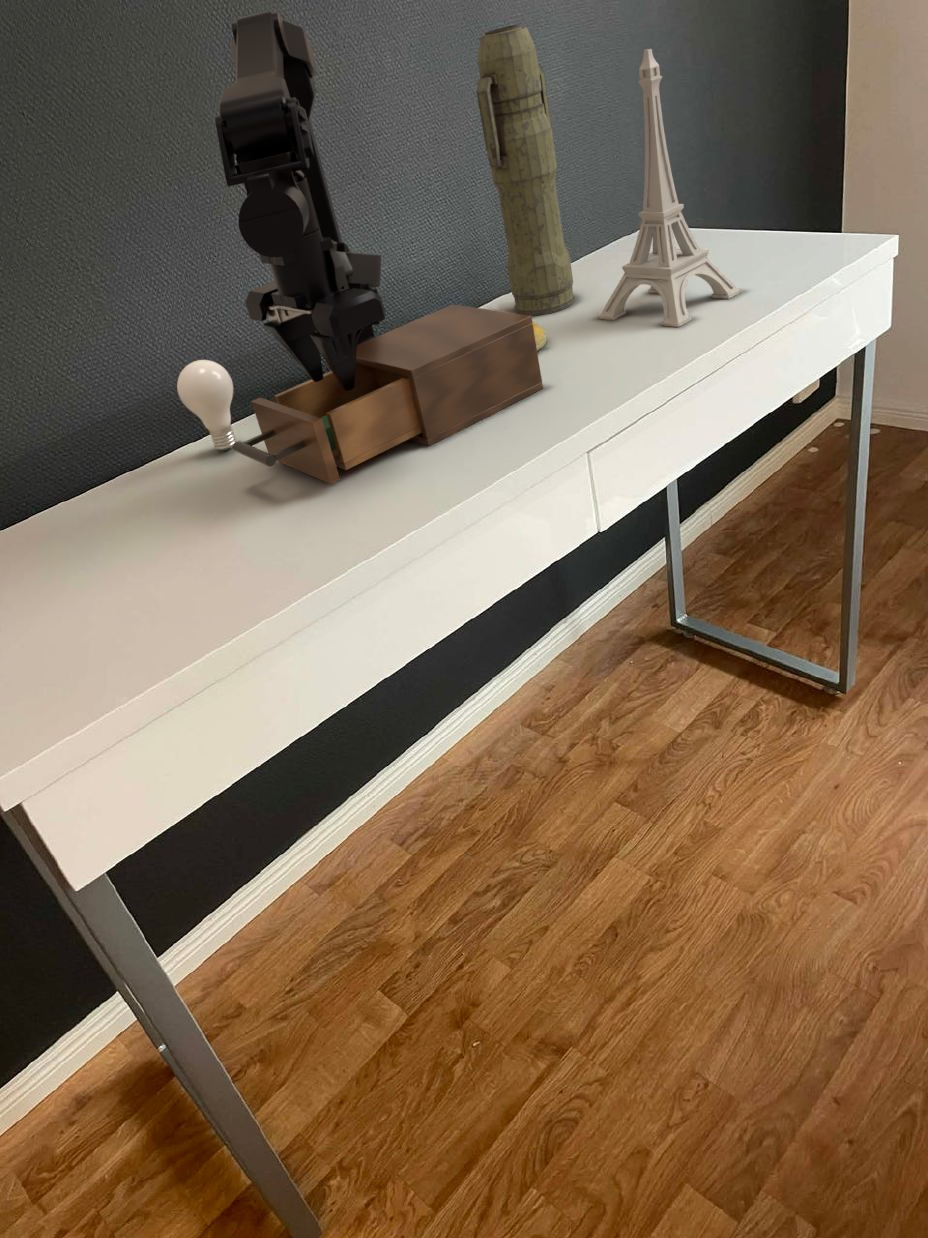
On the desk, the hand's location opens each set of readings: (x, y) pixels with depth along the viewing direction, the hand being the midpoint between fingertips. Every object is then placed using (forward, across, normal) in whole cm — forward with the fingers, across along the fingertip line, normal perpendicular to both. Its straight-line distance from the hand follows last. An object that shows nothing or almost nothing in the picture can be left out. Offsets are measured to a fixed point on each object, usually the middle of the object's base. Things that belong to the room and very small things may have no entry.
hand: (334, 384), depth 103 cm
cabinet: (+8, 0, -14) cm, 16 cm away
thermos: (+8, +17, -46) cm, 49 cm away
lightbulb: (+8, +17, +8) cm, 20 cm away
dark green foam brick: (+6, 0, 0) cm, 6 cm away
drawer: (+7, 0, +1) cm, 7 cm away
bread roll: (+8, +7, -30) cm, 32 cm away
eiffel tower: (+8, -2, -50) cm, 51 cm away
